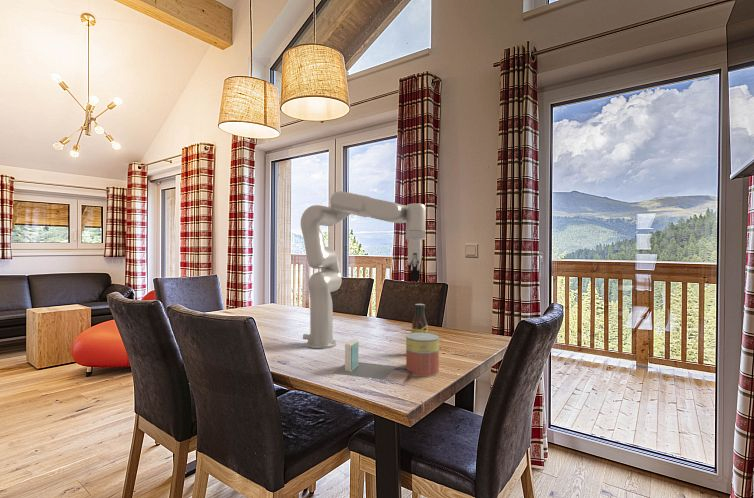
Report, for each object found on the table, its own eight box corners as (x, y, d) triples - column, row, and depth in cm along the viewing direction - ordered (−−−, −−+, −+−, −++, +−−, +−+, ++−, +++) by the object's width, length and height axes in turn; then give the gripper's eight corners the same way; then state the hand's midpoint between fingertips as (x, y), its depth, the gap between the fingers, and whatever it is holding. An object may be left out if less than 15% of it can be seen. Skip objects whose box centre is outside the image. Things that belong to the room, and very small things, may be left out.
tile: (345, 370, 128) (345, 344, 128) (352, 364, 135) (352, 339, 135) (351, 371, 128) (351, 344, 128) (358, 365, 134) (358, 339, 134)
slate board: (332, 376, 126) (332, 373, 126) (348, 363, 139) (348, 361, 139) (384, 382, 120) (384, 379, 120) (396, 368, 134) (396, 366, 134)
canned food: (417, 363, 140) (417, 330, 140) (445, 370, 132) (445, 335, 132) (399, 371, 131) (399, 336, 131) (427, 379, 124) (427, 342, 124)
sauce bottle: (427, 357, 147) (427, 305, 147) (410, 356, 149) (411, 305, 148) (428, 352, 154) (428, 303, 154) (412, 351, 155) (412, 302, 155)
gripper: (407, 236, 157) (406, 277, 157) (404, 235, 140) (404, 281, 140) (425, 236, 156) (425, 278, 156) (425, 235, 139) (424, 282, 139)
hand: (415, 279), depth 148 cm, fingers open, 9 cm apart
